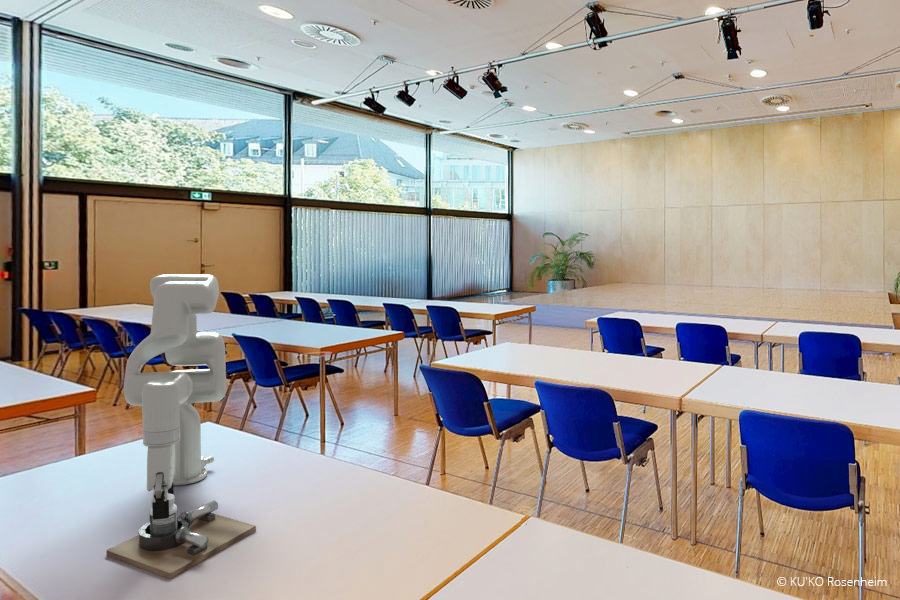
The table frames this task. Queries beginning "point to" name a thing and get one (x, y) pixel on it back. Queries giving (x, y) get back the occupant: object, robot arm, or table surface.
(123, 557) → the stand
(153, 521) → the pill bottle
